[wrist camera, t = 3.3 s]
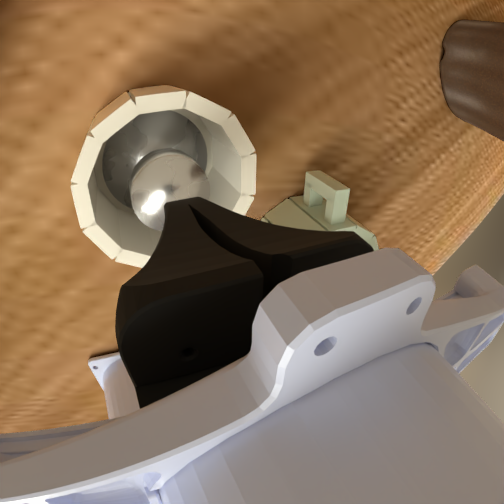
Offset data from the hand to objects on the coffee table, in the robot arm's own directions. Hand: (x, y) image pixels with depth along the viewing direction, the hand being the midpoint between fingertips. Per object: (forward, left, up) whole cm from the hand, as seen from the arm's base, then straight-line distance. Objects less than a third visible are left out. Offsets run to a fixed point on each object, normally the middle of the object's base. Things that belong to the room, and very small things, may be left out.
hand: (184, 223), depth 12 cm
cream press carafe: (-1, 0, -9) cm, 9 cm away
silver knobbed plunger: (0, 0, -8) cm, 8 cm away
